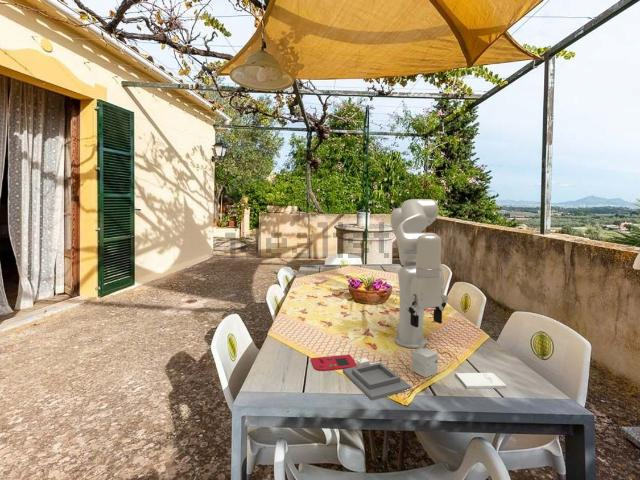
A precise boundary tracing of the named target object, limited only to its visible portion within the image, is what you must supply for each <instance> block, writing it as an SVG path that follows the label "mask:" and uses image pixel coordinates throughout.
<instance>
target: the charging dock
mask: <svg viewBox="0 0 640 480" xmlns="http://www.w3.org/2000/svg"><path fill="white" fill-rule="evenodd" d="M356 364H357V366H356V367H351V368H347V369H342V373H343V374H344V375H345V376H347V378H348V379H349V380H351V381H352V382H353V384H355V385H356V386H357V387H358V388H359V389H360V390H361V391H362V392H363V393H364V394H365V395H366V396H367V397H368V398H369V399H371V401H374V400H377V399H378V400H379V399H383V398H385V397H389V396H393V395H396V393H397V394H399V393H398V392H401V393H403V392H402V391H404V390H407V389H410V388H411V389H412V385H410V384H409V383H408V382H406V381H405V380H404V379H402V378H401V376H399V375H398V374H396V372H394V371H393V370H391V369H390V368H388V367H387V366H386V365H385V364H383V363H382V362H380V361H374V362H371V360H369V359H368V358H367V357H364V358H360V359H357V360H356ZM404 392H405V391H404Z"/></svg>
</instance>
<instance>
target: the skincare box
mask: <svg viewBox="0 0 640 480" xmlns="http://www.w3.org/2000/svg"><path fill="white" fill-rule="evenodd" d="M438 355H439V353H438V351H436V350H433V349H430V348H427V347H426V346H424V347H421V348H415V349H413V350H411V371H412V370H413V371H415V372H417V373H419V374H421V375H423V376H425V377H427V378H429V377H431V376H430V375H432V374H434V375H436V374H437V373H438ZM435 373H436V374H435ZM428 376H429V377H428ZM432 376H433V375H432ZM425 377H424V378H425Z"/></svg>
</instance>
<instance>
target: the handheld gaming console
mask: <svg viewBox="0 0 640 480" xmlns="http://www.w3.org/2000/svg"><path fill="white" fill-rule="evenodd" d="M310 361H311V365H312V367H313V369H314V370H315V371H318V372H328V371H337V370H338V371H339V370H343V369H347V368H351V367H356V366H357V362H356V361H355V360H354V358H353V357H352V355H350V354H343V355H342V354H341V355H340V354H339V355H329V356H319V357H311V358H310Z"/></svg>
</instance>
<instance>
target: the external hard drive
mask: <svg viewBox="0 0 640 480" xmlns="http://www.w3.org/2000/svg"><path fill="white" fill-rule="evenodd" d="M454 376H455V378H456V379H457V380H458V381H459V382H460V383H461V385H463V387H464V388H465V389H466V390H472V389H473V390H474V389H475V390H477V389H480V390H481V389H483V390H484V389H485V390H486V389H506V388H507V385H506V383H504V382H503V381H502V379H500V378H499V377H498V376H497V375H496V374H494V373H493V372H455V373H454Z"/></svg>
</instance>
